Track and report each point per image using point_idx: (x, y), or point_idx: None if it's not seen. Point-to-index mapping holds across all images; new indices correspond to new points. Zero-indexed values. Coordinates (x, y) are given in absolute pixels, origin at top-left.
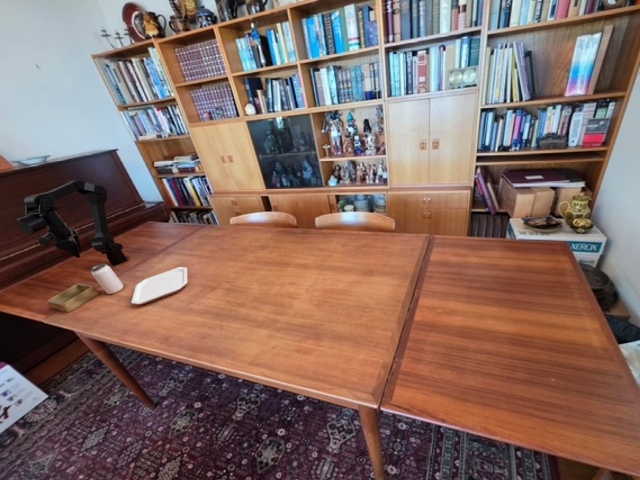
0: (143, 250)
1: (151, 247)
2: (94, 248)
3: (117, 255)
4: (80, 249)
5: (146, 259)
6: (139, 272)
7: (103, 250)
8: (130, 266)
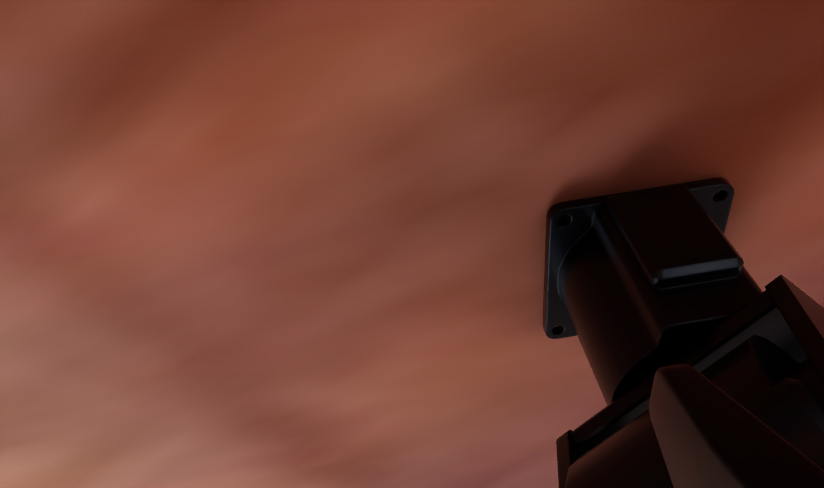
0: None
1: None
2: (788, 412)
3: (592, 369)
4: (666, 463)
5: (359, 473)
6: (41, 470)
7: (623, 445)
8: (311, 377)
